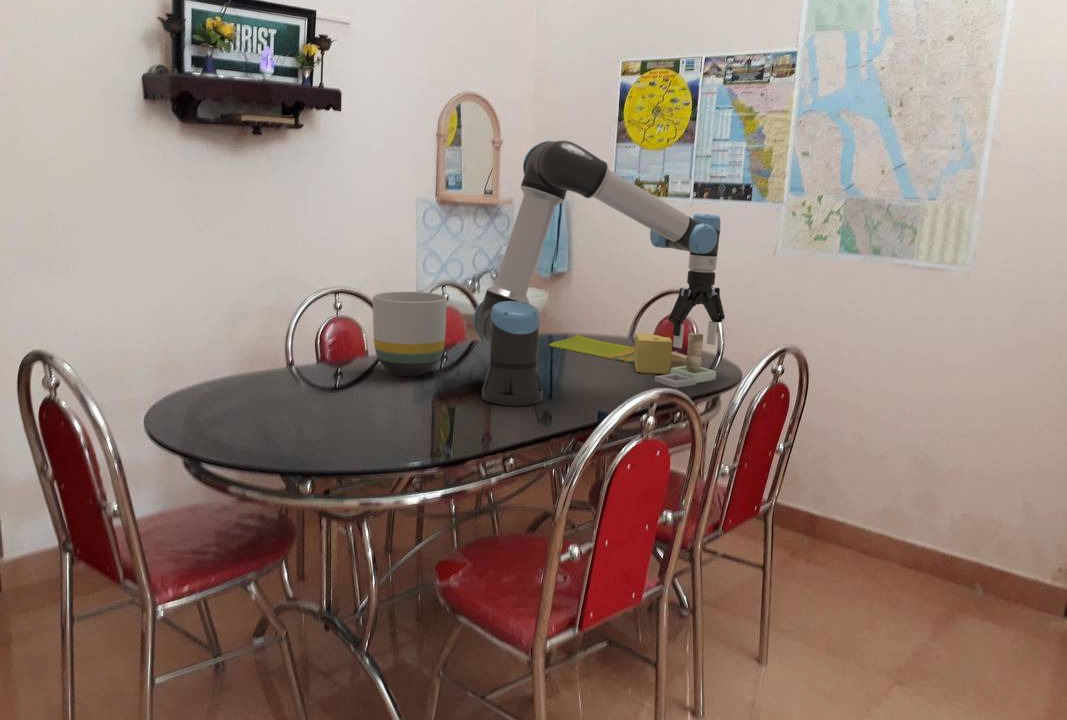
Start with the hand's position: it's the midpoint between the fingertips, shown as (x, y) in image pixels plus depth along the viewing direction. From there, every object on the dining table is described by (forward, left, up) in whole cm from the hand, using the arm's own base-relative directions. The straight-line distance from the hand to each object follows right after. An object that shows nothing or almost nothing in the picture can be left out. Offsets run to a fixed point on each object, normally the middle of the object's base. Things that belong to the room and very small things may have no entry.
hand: (694, 345), depth 236 cm
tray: (0, 0, -9) cm, 9 cm away
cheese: (-3, +13, -10) cm, 17 cm away
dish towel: (+1, +38, -10) cm, 40 cm away
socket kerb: (-9, -2, -9) cm, 13 cm away
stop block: (+6, +13, -9) cm, 17 cm away
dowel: (0, 0, -9) cm, 9 cm away
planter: (-70, +39, -10) cm, 80 cm away
